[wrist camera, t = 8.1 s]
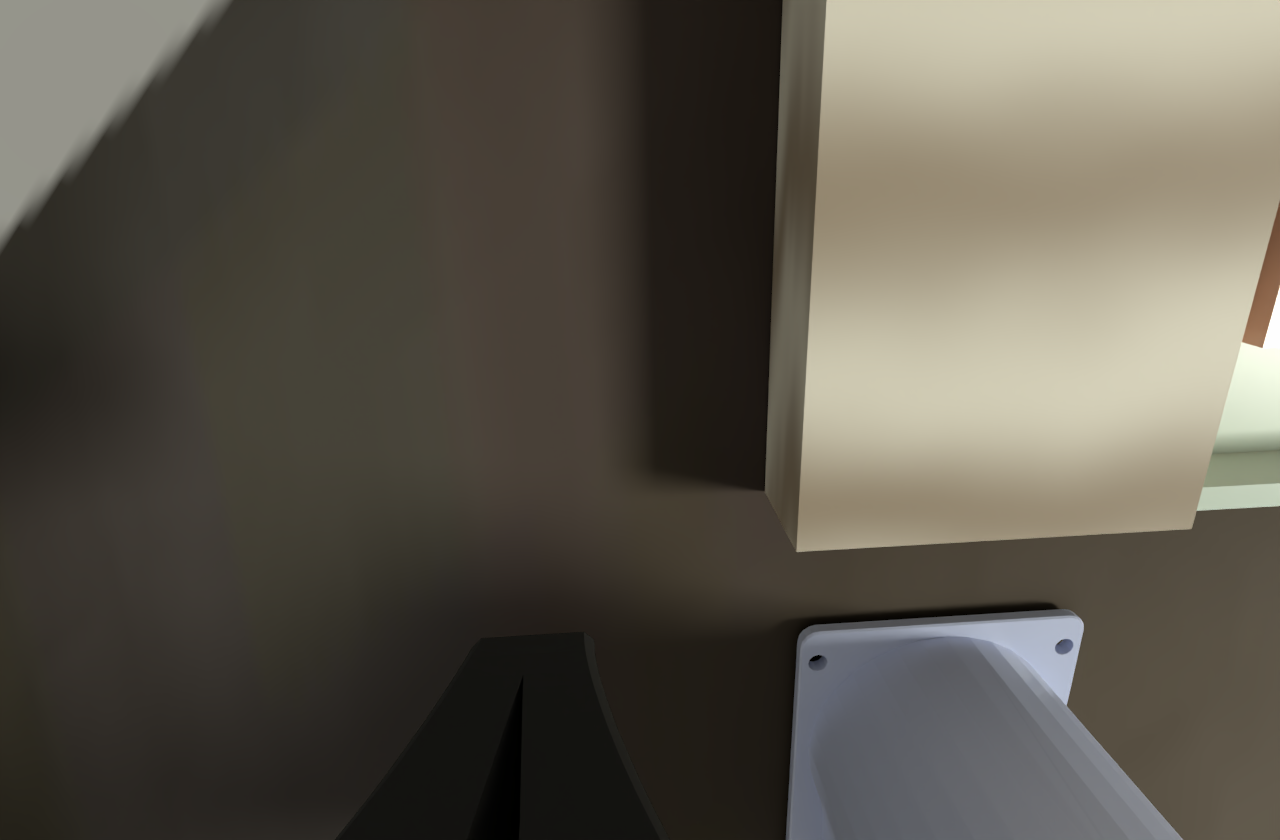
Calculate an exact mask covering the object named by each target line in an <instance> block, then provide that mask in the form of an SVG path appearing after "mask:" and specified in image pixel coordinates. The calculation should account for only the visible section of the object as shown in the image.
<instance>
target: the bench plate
mask: <svg viewBox="0 0 1280 840" xmlns="http://www.w3.org/2000/svg"><path fill="white" fill-rule="evenodd" d="M1279 202H1280V0H783V6H782V33H781V61H780V88H779V116H778V144H777V171H776V199H775V226H774V254H773V282H772V309H771V337H770V364H769V392H768V419H767V447H766V475H765V493H766V495H767V497H768V499H769V501H770V503H771V505H772V506H773V508H774V510H775V512H776V514H777V516H778V518H779V520H780V522H781V524H782V526H783V527H784V529H785V531H786V533H787V535H788V537H789V539H790V541H791V543H792V545H793V546H794V548H795V550H796V552H803V551H821V550H838V549H855V548H872V547H889V546H906V545H924V544H941V543H958V542H975V541H992V540H1009V539H1027V538H1044V537H1061V536H1078V535H1095V534H1113V533H1130V532H1147V531H1164V530H1181V529H1192V526H1193V522H1194V518H1195V514H1196V511H1197V507H1198V503H1199V500H1200V496H1201V492H1202V488H1203V485H1204V481H1205V477H1206V473H1207V470H1208V466H1209V462H1210V459H1211V455H1212V451H1213V447H1214V444H1215V440H1216V436H1217V433H1218V429H1219V425H1220V421H1221V418H1222V414H1223V410H1224V407H1225V403H1226V399H1227V395H1228V392H1229V388H1230V384H1231V381H1232V377H1233V373H1234V369H1235V366H1236V362H1237V358H1238V354H1239V351H1240V347H1241V343H1242V340H1243V336H1244V332H1245V328H1246V325H1247V321H1248V317H1249V314H1250V310H1251V306H1252V302H1253V299H1254V295H1255V291H1256V288H1257V284H1258V280H1259V276H1260V273H1261V269H1262V265H1263V262H1264V258H1265V254H1266V250H1267V247H1268V243H1269V239H1270V235H1271V232H1272V228H1273V224H1274V221H1275V217H1276V213H1277V209H1278V206H1279Z"/></svg>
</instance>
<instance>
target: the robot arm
mask: <svg viewBox="0 0 1280 840" xmlns="http://www.w3.org/2000/svg"><path fill="white" fill-rule="evenodd" d="M1083 630H1084V624H1083V622H1082V620H1081V619H1080V618H1079V617H1078V616H1077V615H1076V614H1075V613H1074V612H1072V611H1070V610H1067V609H1055V610H1040V611H1024V612H1008V613H993V614H977V615H961V616H945V617H930V618H914V619H898V620H883V621H867V622H851V623H836V624H820V625H813V626H809V627H807V628H806V629H804V630H803V631H802V632H801V633H800V635H799V637H798V640H797V655H796V673H795V690H794V707H793V724H792V741H791V759H790V776H789V793H788V810H787V827H786V840H1183V839H1182V838H1181V837H1180V836H1179V834H1178V833H1177V832H1176V831H1175V830H1174V829H1173V828H1172V826H1171V825H1170V824H1169V823H1168V822H1167V821H1166V820H1165V818H1164V817H1163V816H1162V815H1161V814H1160V813H1159V812H1158V810H1157V809H1156V808H1155V807H1154V806H1153V805H1152V804H1151V802H1150V801H1149V800H1148V799H1147V798H1146V797H1145V795H1144V794H1143V793H1142V792H1141V791H1140V790H1139V789H1138V787H1137V786H1136V785H1135V784H1134V783H1133V782H1132V781H1131V779H1130V778H1129V777H1128V776H1127V775H1126V774H1125V773H1124V771H1123V770H1122V769H1121V768H1120V767H1119V766H1118V765H1117V763H1116V762H1115V761H1114V760H1113V759H1112V758H1111V757H1110V755H1109V754H1108V753H1107V752H1106V751H1105V750H1104V748H1103V747H1102V746H1101V745H1100V744H1099V743H1098V742H1097V740H1096V739H1095V738H1094V737H1093V736H1092V735H1091V734H1090V732H1089V731H1088V730H1087V729H1086V728H1085V727H1084V726H1083V724H1082V723H1081V722H1080V721H1079V720H1078V719H1077V718H1076V716H1075V715H1074V714H1073V713H1072V712H1071V711H1070V709H1069V708H1068V707H1067V702H1068V697H1069V693H1070V688H1071V684H1072V679H1073V675H1074V670H1075V666H1076V661H1077V657H1078V652H1079V648H1080V643H1081V639H1082V634H1083ZM1060 640H1063V641H1062V642H1061V643H1060V644H1058V645H1056V644H1057V643H1058V642H1059V641H1060ZM817 655H822V657H821V658H820V659H819V660H817V661H809V660H810V659H811V658H812V657H813V656H817ZM335 840H670V839H669V837H668V835H667V833H666V831H665V830H664V828H663V826H662V824H661V822H660V820H659V818H658V816H657V814H656V812H655V810H654V808H653V806H652V804H651V802H650V800H649V798H648V796H647V794H646V792H645V790H644V788H643V786H642V784H641V782H640V780H639V777H638V775H637V773H636V771H635V768H634V766H633V764H632V761H631V759H630V757H629V754H628V752H627V750H626V748H625V745H624V743H623V741H622V738H621V736H620V734H619V731H618V729H617V726H616V724H615V721H614V718H613V716H612V713H611V710H610V707H609V704H608V701H607V698H606V695H605V692H604V689H603V686H602V683H601V679H600V675H599V672H598V667H597V663H596V657H595V649H594V639H592V638H591V637H590V636H589V635H587V634H586V633H585V632H574V633H559V634H543V635H527V636H511V637H495V638H481V639H480V640H479V641H478V642H477V643H476V644H475V645H474V646H473V647H472V649H471V651H470V652H469V654H468V656H467V657H466V659H465V661H464V662H463V664H462V665H461V667H460V669H459V670H458V672H457V673H456V675H455V676H454V678H453V680H452V681H451V683H450V684H449V686H448V687H447V689H446V690H445V692H444V693H443V695H442V696H441V698H440V699H439V701H438V702H437V704H436V705H435V707H434V708H433V710H432V711H431V713H430V714H429V716H428V717H427V719H426V720H425V722H424V723H423V724H422V726H421V727H420V729H419V730H418V732H417V733H416V734H415V736H414V737H413V738H412V740H411V741H410V743H409V744H408V745H407V747H406V748H405V749H404V751H403V752H402V754H401V755H400V756H399V758H398V759H397V761H396V762H395V763H394V765H393V766H392V767H391V769H390V770H389V772H388V773H387V774H386V776H385V777H384V778H383V780H382V781H381V782H380V784H379V785H378V786H377V788H376V789H375V790H374V792H373V793H372V794H371V796H370V797H369V798H368V799H367V801H366V802H365V803H364V804H363V806H362V807H361V808H360V809H359V811H358V812H357V813H356V814H355V816H354V817H353V818H352V819H351V821H350V822H349V823H348V824H347V826H346V827H345V828H344V829H343V830H342V832H341V833H340V834H339V835H338V837H337V838H336V839H335Z"/></svg>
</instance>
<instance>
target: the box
mask: <svg viewBox="0 0 1280 840" xmlns="http://www.w3.org/2000/svg"><path fill="white" fill-rule="evenodd" d="M1269 506H1280V347H1277V348H1260V347H1257V346H1253V345H1250V344H1246V343H1243V342H1242V343H1241V347H1240V351H1239V354H1238V358H1237V362H1236V366H1235V369H1234V373H1233V377H1232V381H1231V384H1230V388H1229V392H1228V395H1227V399H1226V403H1225V407H1224V410H1223V414H1222V418H1221V421H1220V425H1219V429H1218V433H1217V436H1216V440H1215V444H1214V447H1213V451H1212V455H1211V459H1210V462H1209V466H1208V470H1207V473H1206V477H1205V481H1204V485H1203V488H1202V492H1201V496H1200V500H1199V503H1198V507H1197V511H1198V510H1216V509H1234V508H1251V507H1269Z"/></svg>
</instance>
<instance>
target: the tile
mask: <svg viewBox="0 0 1280 840" xmlns="http://www.w3.org/2000/svg"><path fill="white" fill-rule="evenodd" d="M1242 342H1243V343H1246V344H1250V345H1253V346H1257V347H1260V348H1277V347H1280V202H1279V206H1278V209H1277V213H1276V217H1275V221H1274V224H1273V228H1272V232H1271V235H1270V239H1269V243H1268V247H1267V250H1266V254H1265V258H1264V262H1263V265H1262V269H1261V273H1260V276H1259V280H1258V284H1257V288H1256V291H1255V295H1254V299H1253V302H1252V306H1251V310H1250V314H1249V317H1248V321H1247V325H1246V328H1245V332H1244V336H1243V340H1242Z"/></svg>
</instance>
